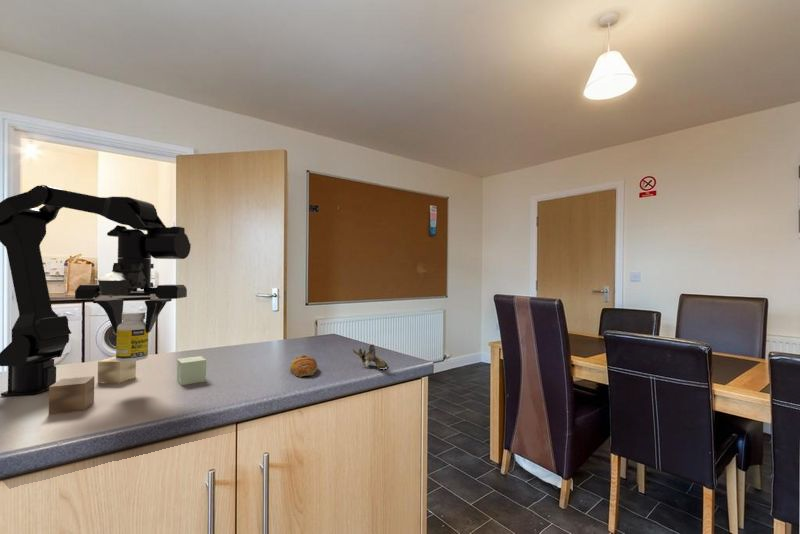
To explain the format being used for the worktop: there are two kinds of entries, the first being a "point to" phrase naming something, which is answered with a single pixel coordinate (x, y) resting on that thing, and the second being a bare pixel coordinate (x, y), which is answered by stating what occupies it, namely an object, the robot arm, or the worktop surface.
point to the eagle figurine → (371, 357)
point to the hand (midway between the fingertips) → (133, 332)
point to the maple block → (115, 370)
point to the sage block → (191, 370)
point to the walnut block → (71, 395)
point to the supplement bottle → (132, 337)
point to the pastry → (303, 366)
